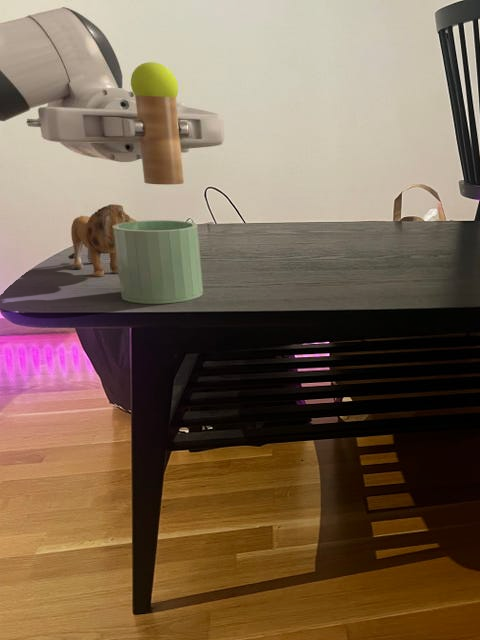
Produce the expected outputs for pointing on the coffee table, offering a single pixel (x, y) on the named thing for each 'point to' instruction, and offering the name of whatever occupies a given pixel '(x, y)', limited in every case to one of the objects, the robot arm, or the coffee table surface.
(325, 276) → the coffee table surface
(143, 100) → the ball peg
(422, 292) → the coffee table surface
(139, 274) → the green faceted pot
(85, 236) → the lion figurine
